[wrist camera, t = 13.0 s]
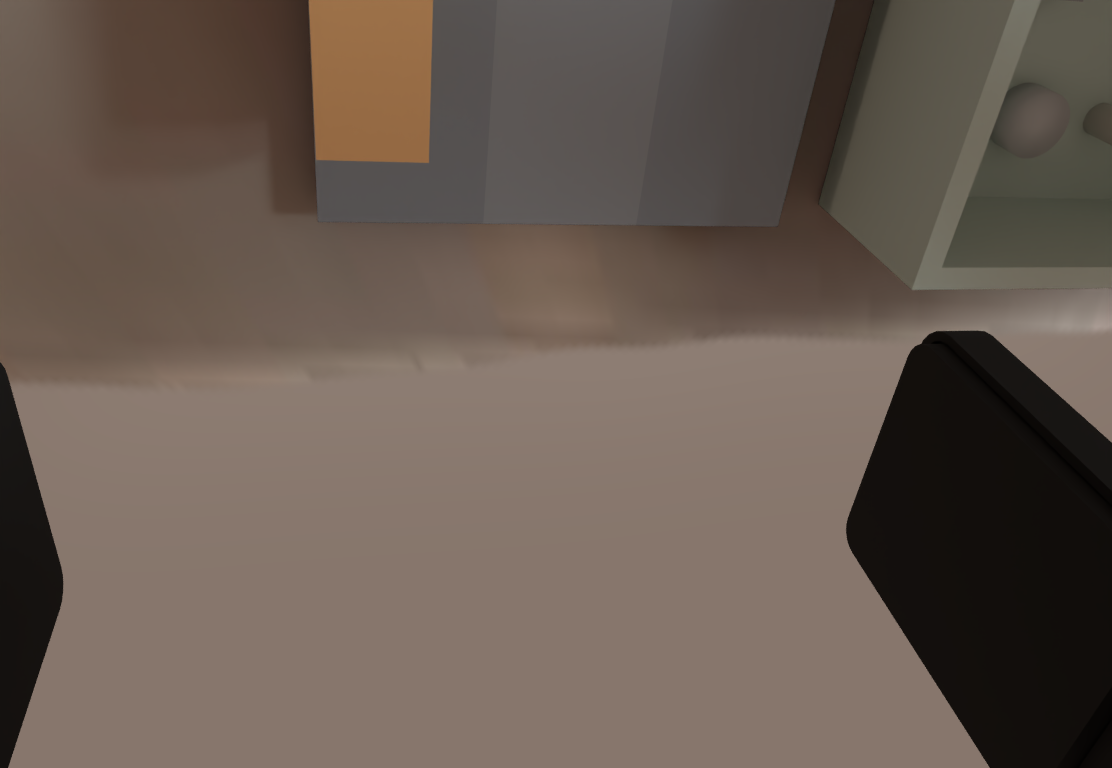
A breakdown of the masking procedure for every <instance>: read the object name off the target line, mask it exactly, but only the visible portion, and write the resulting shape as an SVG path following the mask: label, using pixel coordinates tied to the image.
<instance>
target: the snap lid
mask: <svg viewBox="0 0 1112 768" xmlns="http://www.w3.org/2000/svg"><path fill="white" fill-rule="evenodd" d="M834 4H835V0H308V17H309V39H310V61H311V82H312V104H313V126H314V148H315V170H316V192H317V214H318V222H366V223H461V224H556V225H650V226H745V227H778V224H779V220H780V216H781V212H782V208H783V204H784V200H785V196H786V193H787V189H788V185H789V181H790V177H791V173H792V169H793V165H794V161H795V157H796V153H797V149H798V145H799V142H800V138H801V134H802V130H803V126H804V122H805V118H806V114H807V110H808V106H809V102H810V98H811V94H812V91H813V87H814V83H815V79H816V75H817V71H818V67H819V63H820V59H821V55H822V51H823V47H824V43H825V40H826V36H827V32H828V28H829V24H830V20H831V16H832V12H833V8H834Z"/></svg>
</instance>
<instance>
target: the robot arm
mask: <svg viewBox="0 0 1112 768" xmlns="http://www.w3.org/2000/svg"><path fill="white" fill-rule="evenodd" d="M846 534H847V540H848V544H849V547H850V549H851V551H852V553H853V554H854V556H855V557H856V559H857V561H858V562H859V564H860V565H861V567H862V569H863V570H864V572H865V573H866V575H867V576H868V578H869V579H870V581H871V582H872V584H873V585H874V587H875V589H876V590H877V592H878V593H879V595H880V597H881V598H882V600H883V601H884V603H885V604H886V606H887V607H888V609H889V611H890V612H891V614H892V615H893V617H894V618H895V620H896V622H897V623H898V625H899V626H900V628H901V629H902V631H903V633H904V634H905V636H906V637H907V639H908V640H909V642H910V644H911V645H912V646H913V648H914V650H915V651H916V653H917V655H918V656H919V658H920V659H921V661H922V662H923V664H924V665H925V667H926V669H927V670H928V672H929V673H930V675H931V676H932V678H933V680H934V681H935V683H936V684H937V686H938V687H939V689H940V690H941V692H942V694H943V695H944V697H945V698H946V700H947V701H948V703H949V704H950V706H951V708H952V709H953V711H954V712H955V714H956V715H957V717H958V719H959V720H960V722H961V723H962V725H963V726H964V728H965V729H966V731H967V733H968V734H969V736H970V737H971V739H972V740H973V742H974V744H975V745H976V747H977V748H978V750H979V751H980V753H981V755H982V756H983V758H984V759H985V761H986V762H987V764H988V766H989V767H990V768H1112V443H1111V442H1110V441H1109V440H1108V439H1107V438H1106V437H1105V436H1104V435H1103V434H1101V433H1100V432H1099V431H1098V430H1097V429H1096V428H1095V427H1094V426H1092V425H1091V424H1090V423H1089V422H1088V421H1087V420H1086V419H1085V418H1084V417H1082V416H1081V415H1080V414H1079V413H1078V412H1077V411H1075V410H1074V409H1073V408H1072V407H1071V406H1070V405H1069V404H1068V403H1067V402H1066V401H1065V400H1063V399H1062V398H1061V397H1060V396H1059V395H1058V394H1057V393H1056V392H1054V391H1053V390H1052V389H1051V388H1050V387H1049V386H1048V385H1047V384H1046V383H1044V382H1043V381H1042V380H1041V379H1040V378H1039V377H1038V376H1036V374H1034V373H1033V372H1032V371H1031V370H1030V369H1029V368H1028V367H1026V366H1025V365H1024V364H1023V363H1022V362H1021V361H1020V360H1019V359H1018V358H1017V357H1015V356H1014V355H1013V354H1012V353H1011V352H1010V351H1009V350H1007V349H1006V348H1005V347H1004V346H1003V345H1002V344H1001V343H1000V342H999V341H998V340H996V339H995V338H994V337H993V336H992V335H990V334H988V333H987V332H985V331H936V332H933V333H931V334H929V335H928V336H927V337H926V338H925V339H924V340H923V342H922V344H920V345H917V346H915V347H914V348H913V349H912V350H911V352H910V354H909V356H908V358H907V361H906V363H905V366H904V368H903V371H902V374H901V376H900V380H899V382H898V385H897V387H896V390H895V393H894V395H893V398H892V401H891V404H890V406H889V409H888V411H887V414H886V417H885V420H884V423H883V425H882V428H881V430H880V433H879V436H878V439H877V441H876V444H875V446H874V449H873V452H872V455H871V457H870V460H869V463H868V465H867V468H866V471H865V473H864V476H863V479H862V482H861V484H860V487H859V490H858V492H857V495H856V498H855V500H854V503H853V506H852V508H851V511H850V514H849V517H848V520H847V526H846ZM62 595H63V574H62V569H61V565H60V562H59V558H58V554H57V550H56V547H55V543H54V540H53V536H52V533H51V529H50V525H49V522H48V518H47V515H46V511H45V508H44V504H43V501H42V497H41V493H40V490H39V486H38V483H37V479H36V475H35V472H34V468H33V465H32V461H31V458H30V454H29V450H28V447H27V443H26V440H25V436H24V433H23V430H22V426H21V422H20V419H19V415H18V411H17V408H16V404H15V401H14V398H13V393H12V390H11V386H10V383H9V379H8V376H7V373H6V370H5V368H4V367H3V365H2V364H1V363H0V768H8V766H9V763H10V760H11V757H12V754H13V751H14V748H15V745H16V742H17V738H18V735H19V732H20V729H21V726H22V723H23V720H24V717H25V714H26V711H27V708H28V705H29V702H30V699H31V696H32V693H33V690H34V687H35V684H36V680H37V677H38V674H39V671H40V668H41V665H42V662H43V659H44V656H45V653H46V650H47V647H48V643H49V641H50V638H51V635H52V631H53V629H54V625H55V622H56V619H57V616H58V613H59V610H60V606H61V602H62Z"/></svg>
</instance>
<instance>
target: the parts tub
mask: <svg viewBox="0 0 1112 768" xmlns="http://www.w3.org/2000/svg"><path fill="white" fill-rule="evenodd" d="M818 204H819V205H820V206H821V207H822V208H823V209H824V210H825V211H827V212H828V213H829V214H830V215H831V216H832V217H833V218H834V219H835V220H836V221H837V222H839V223H840V224H841V225H842V226H843V227H844V228H845V229H846V230H847V231H848V232H849V233H850V234H852V235H853V236H854V237H855V238H856V239H857V240H858V241H859V242H860V243H861V244H862V245H864V246H865V247H866V248H867V249H868V250H869V251H870V252H871V253H872V254H873V255H874V256H875V257H877V258H878V259H879V260H880V261H881V262H882V263H883V264H884V265H885V266H886V267H887V268H888V269H890V270H891V271H892V272H893V273H894V274H895V275H896V276H897V277H898V278H899V279H900V280H902V281H903V282H904V283H905V284H906V285H907V286H908V287H909V288H910V289H911V290H963V289H1078V288H1112V0H874V4H873V7H872V11H871V14H870V18H869V22H868V25H867V29H866V33H865V36H864V40H863V44H862V47H861V51H860V54H859V58H858V62H857V65H856V69H855V73H854V76H853V80H852V84H851V87H850V91H849V94H848V98H847V102H846V105H845V109H844V113H843V116H842V120H841V123H840V127H839V131H838V134H837V138H836V142H835V145H834V149H833V153H832V156H831V160H830V163H829V167H828V171H827V174H826V178H825V182H824V185H823V189H822V192H821V196H820V200H819V203H818Z"/></svg>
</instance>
